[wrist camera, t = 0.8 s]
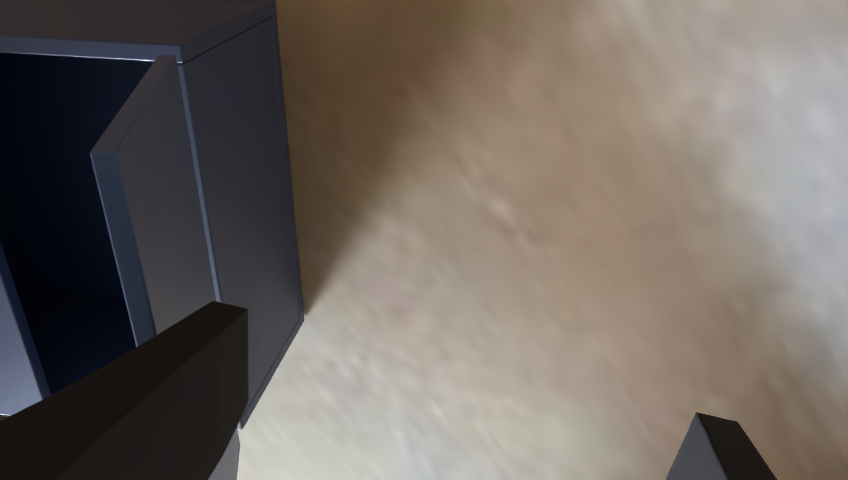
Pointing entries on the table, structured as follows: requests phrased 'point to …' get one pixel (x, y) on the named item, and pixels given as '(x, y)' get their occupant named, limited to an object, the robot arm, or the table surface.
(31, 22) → the carton
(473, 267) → the table surface
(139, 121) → the flap
